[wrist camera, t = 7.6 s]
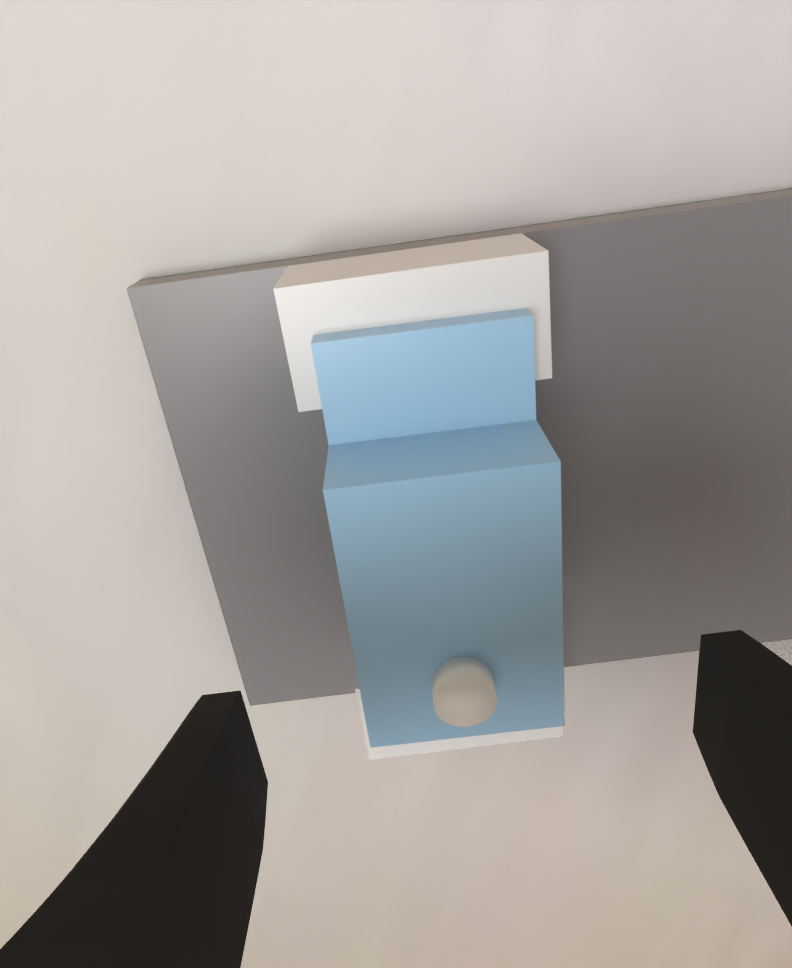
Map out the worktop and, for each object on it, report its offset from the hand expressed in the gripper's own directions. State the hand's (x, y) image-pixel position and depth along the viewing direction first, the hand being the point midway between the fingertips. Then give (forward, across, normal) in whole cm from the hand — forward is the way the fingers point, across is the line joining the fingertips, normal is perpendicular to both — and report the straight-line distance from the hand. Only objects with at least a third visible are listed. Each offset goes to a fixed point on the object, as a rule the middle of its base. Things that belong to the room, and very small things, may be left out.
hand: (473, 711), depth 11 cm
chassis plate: (+8, -4, 0) cm, 9 cm away
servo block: (+7, 0, 0) cm, 7 cm away
